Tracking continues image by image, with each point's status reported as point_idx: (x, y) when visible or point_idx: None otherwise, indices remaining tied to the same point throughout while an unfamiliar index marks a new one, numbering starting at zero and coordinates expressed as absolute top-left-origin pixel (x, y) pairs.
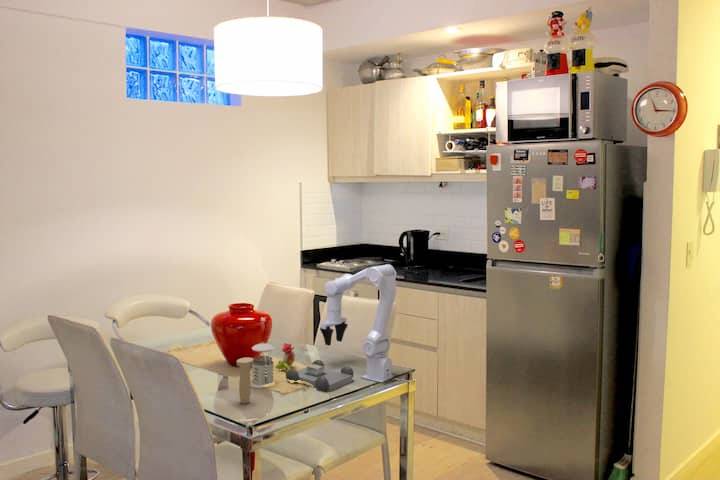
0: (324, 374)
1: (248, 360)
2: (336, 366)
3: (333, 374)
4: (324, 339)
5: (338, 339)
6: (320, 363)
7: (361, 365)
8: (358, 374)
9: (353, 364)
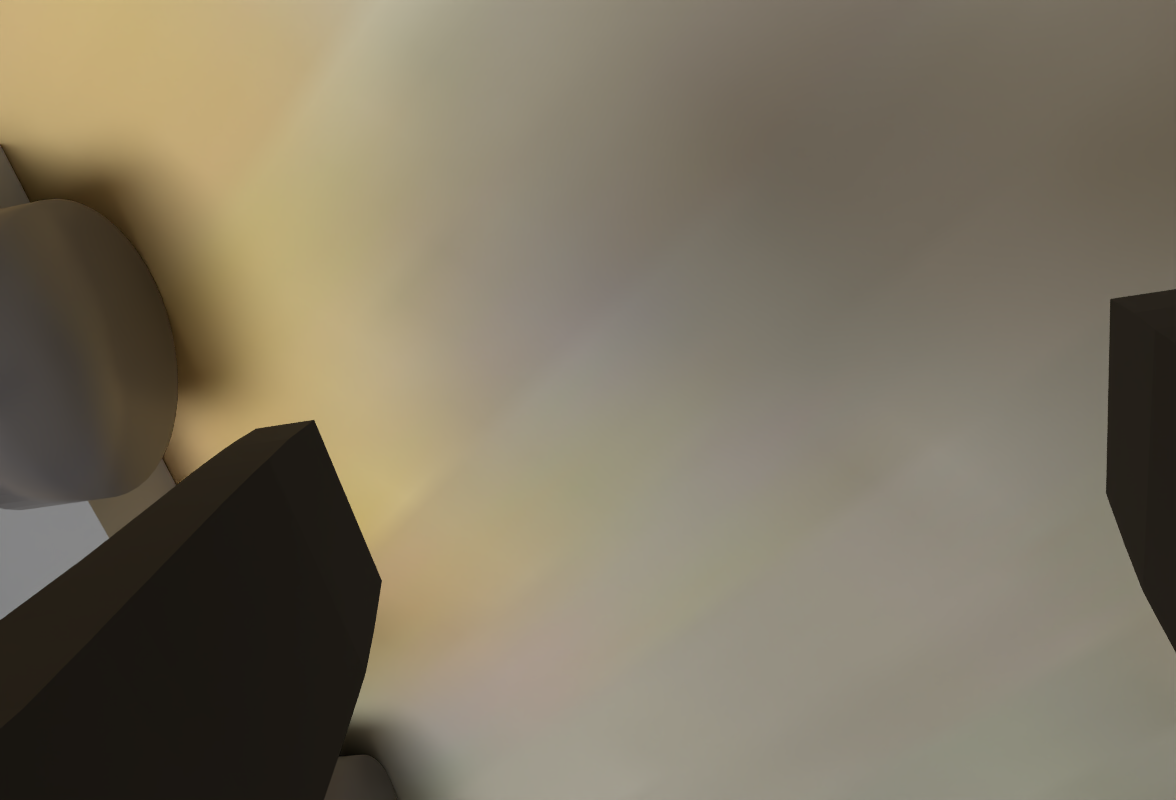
0: None
1: None
2: (719, 215)
3: None
4: (103, 566)
5: (1139, 430)
6: (5, 508)
7: None
8: (684, 739)
9: None
